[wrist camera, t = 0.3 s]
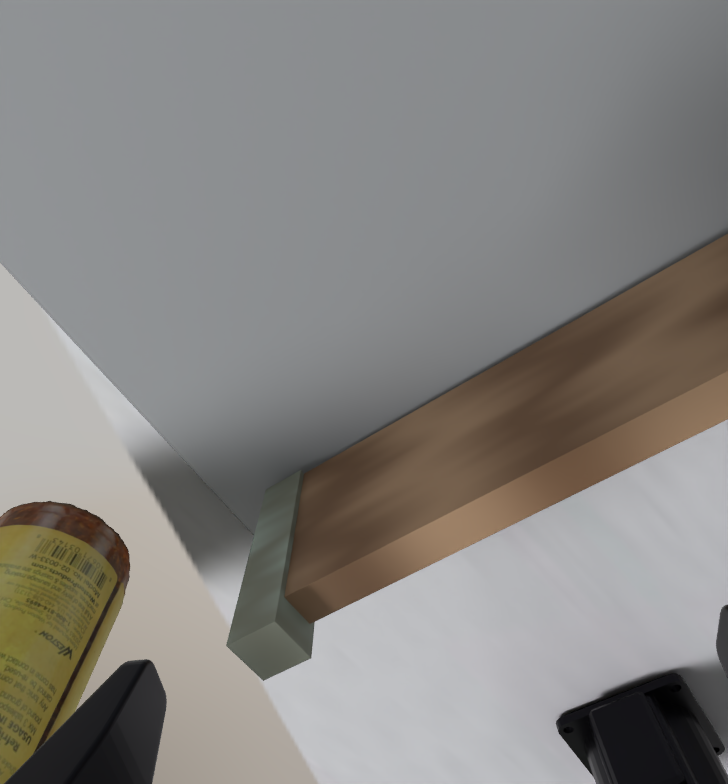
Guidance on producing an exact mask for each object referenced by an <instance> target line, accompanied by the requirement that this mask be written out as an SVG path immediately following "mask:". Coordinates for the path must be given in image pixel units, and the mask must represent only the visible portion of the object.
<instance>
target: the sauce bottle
mask: <svg viewBox="0 0 728 784" xmlns="http://www.w3.org/2000/svg"><path fill="white" fill-rule="evenodd" d="M129 571H130V562H129V553H128V549H127V547H126V545H125V544H124V542H123V540H122V539H121V538H120V536H119V534H118V533H116V532H115V531H114V529H112V528H111V527H109V526H108V525H107V524H106V523H105V522H104V521H103V520H102V519H101V518H100V517H98V516H96V515H93V514H91V513H90V512H88V511H87V510H82V509H80V508H77V507H75V506H74V505H71V504H65V503H56V502H51V501H48V502H33V503H28V504H23V505H19V506H17V507H13V508H12V509H10V510H8V511H7V512H6V513H4V514H3V515H2V516H1V517H0V784H4V783H5V782H6V781H7V780H8V779H9V778H10V777H11V776H12V775H13V774H14V773H15V772H16V771H17V770H18V769H19V768H20V767H21V766H22V765H23V764H24V763H25V762H26V761H27V760H28V759H29V758H30V757H31V756H32V755H33V754H34V753H35V752H36V751H37V750H38V749H39V748H40V747H41V746H42V745H43V744H44V743H45V742H46V741H47V740H48V739H49V738H50V737H51V736H52V735H53V733H54V732H55V731H56V730H57V729H58V728H59V727H60V726H61V725H62V724H63V723H64V722H65V721H66V720H67V719H68V718H69V717H70V716H71V715H72V714H73V713H74V712H75V710H76V708H77V705H78V703H79V701H80V699H81V697H82V694H83V692H84V690H85V688H86V685H87V683H88V681H89V678H90V676H91V674H92V672H93V670H94V667H95V665H96V663H97V661H98V658H99V656H100V654H101V651H102V649H103V647H104V644H105V642H106V640H107V638H108V636H109V633H110V631H111V629H112V626H113V624H114V622H115V620H116V618H117V616H118V613H119V611H120V609H121V606H122V603H123V598H124V595H125V589H126V586H127V583H128V581H129Z"/></svg>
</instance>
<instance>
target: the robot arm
mask: <svg viewBox="0 0 728 784" xmlns="http://www.w3.org/2000/svg"><path fill="white" fill-rule="evenodd" d="M716 649H717V654H718V657H719V660H720V662H721V664H722V667H723V669H724V671H725V673H726V675H727V678H728V605H725V606H723V608H722V609H721V612H720V619H719V626H718V633H717V640H716ZM165 711H166V694H165V690H164V688H163V686H162V683H161V681H160V678H159V676H158V673H157V671H156V668H155V666H154V664H153V663H152V662H151V661H150V660H147V659H146V660H135V661H128V662H125V663H124V664H122V665H121V666H120V667H119V668H118V669H117V670H116V671H115V672H114V673H113V674H112V675H111V676H110V677H109V678H108V679H107V680H106V681H105V682H104V683H103V684H102V685H101V686H100V687H99V688H98V689H97V690H96V691H95V692H94V693H93V694H92V695H91V696H90V697H89V698H88V699H87V700H86V701H85V702H84V703H83V704H82V705H81V706H80V707H79V708H78V709H77V710H76V711H75V712H74V713H73V714H72V715H71V716H70V717H69V718H68V719H67V720H66V721H65V722H64V723H63V724H62V725H61V726H60V727H59V728H58V729H57V730H56V731H55V732H54V733H53V735H52V736H51V737H50V738H49V739H48V740H47V741H46V742H45V743H44V744H43V745H42V746H41V747H40V748H39V749H38V750H37V751H36V752H35V753H34V754H33V755H32V756H31V757H30V758H29V759H28V760H27V761H26V762H25V763H24V764H23V765H22V766H21V767H20V768H19V769H18V770H17V771H16V772H15V773H14V774H13V775H12V776H11V777H10V778H9V779H8V780H7V781H6V782H5V783H4V784H152V782H153V776H154V771H155V765H156V760H157V755H158V749H159V744H160V738H161V733H162V728H163V722H164V717H165ZM556 725H557V729H558V732H559V734H560V735H561V736H562V738H563V739H564V740H565V742H566V743H567V744H568V745H569V747H570V748H571V749H572V750H573V752H574V753H575V754H576V755H577V757H578V758H579V759H580V760H581V762H582V763H583V764H584V766H585V767H586V768H587V769H588V771H589V772H590V773H591V774H592V776H593V777H594V779H595V782H596V784H728V775H727V773H726V771H725V769H724V767H723V765H722V763H721V762H720V760H719V758H718V755H720V754H722V753H723V752H724V750H725V748H724V745H723V744H722V742H721V740H720V738H719V737H718V735H717V733H716V732H715V730H714V729H713V727H712V725H711V724H710V722H709V720H708V719H707V717H706V715H705V714H704V712H703V711H702V709H701V707H700V706H699V704H698V702H697V701H696V699H695V697H694V696H693V694H692V693H691V691H690V689H689V688H688V686H687V684H686V683H685V681H684V680H683V678H682V677H681V676H680V675H678V674H670V675H667V676H664V677H662V678H659V679H657V680H654V681H652V682H649V683H647V684H644V685H641V686H639V687H636V688H634V689H631V690H629V691H626V692H624V693H621V694H619V695H616V696H614V697H611V698H608V699H606V700H603V701H601V702H598V703H596V704H593V705H591V706H588V707H586V708H583V709H581V710H578V711H575V712H573V713H570V714H568V715H565V716H563V717H561V718H559V719H558V720H557V721H556Z"/></svg>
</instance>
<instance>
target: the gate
mask: <svg viewBox="0 0 728 784" xmlns="http://www.w3.org/2000/svg"><path fill="white" fill-rule="evenodd" d="M727 419H728V234H726V235H725V236H723V237H721V238H719V239H718V240H716V241H714V242H712V243H710V244H709V245H707V246H705V247H703V248H702V249H700V250H698V251H696V252H695V253H693V254H691V255H689V256H687V257H686V258H684V259H682V260H680V261H679V262H677V263H675V264H673V265H672V266H670V267H668V268H666V269H665V270H663V271H661V272H659V273H657V274H656V275H654V276H652V277H650V278H649V279H647V280H645V281H643V282H642V283H640V284H638V285H636V286H635V287H633V288H631V289H629V290H627V291H626V292H624V293H622V294H620V295H619V296H617V297H615V298H613V299H612V300H610V301H608V302H606V303H604V304H603V305H601V306H599V307H597V308H596V309H594V310H592V311H590V312H589V313H587V314H585V315H583V316H582V317H580V318H578V319H576V320H574V321H573V322H571V323H569V324H567V325H566V326H564V327H562V328H560V329H559V330H557V331H555V332H553V333H552V334H550V335H548V336H546V337H544V338H543V339H541V340H539V341H537V342H536V343H534V344H532V345H530V346H529V347H527V348H525V349H523V350H521V351H520V352H518V353H516V354H514V355H513V356H511V357H509V358H507V359H506V360H504V361H502V362H500V363H499V364H497V365H495V366H493V367H491V368H490V369H488V370H486V371H484V372H483V373H481V374H479V375H477V376H476V377H474V378H472V379H470V380H469V381H467V382H465V383H463V384H461V385H460V386H458V387H456V388H454V389H453V390H451V391H449V392H447V393H446V394H444V395H442V396H440V397H438V398H437V399H435V400H433V401H431V402H430V403H428V404H426V405H424V406H423V407H421V408H419V409H417V410H416V411H414V412H412V413H410V414H408V415H407V416H405V417H403V418H401V419H400V420H398V421H396V422H394V423H393V424H391V425H389V426H387V427H386V428H384V429H382V430H380V431H378V432H377V433H375V434H373V435H371V436H370V437H368V438H366V439H364V440H363V441H361V442H359V443H357V444H355V445H354V446H352V447H350V448H348V449H347V450H345V451H343V452H341V453H340V454H338V455H336V456H334V457H333V458H331V459H329V460H327V461H325V462H324V463H322V464H320V465H318V466H317V467H315V468H313V469H311V470H310V471H308V472H306V473H303V472H302V470H300V471H298V472H296V473H294V474H292V475H291V476H289V477H287V478H285V479H284V480H282V481H280V482H278V483H277V484H275V485H273V486H271V487H270V488H268V489H266V491H265V495H264V499H263V502H262V506H261V510H260V514H259V518H258V522H257V526H256V530H255V534H254V538H253V542H252V546H251V550H250V554H249V558H248V562H247V566H246V570H245V574H244V578H243V582H242V585H241V589H240V593H239V597H238V601H237V605H236V609H235V613H234V617H233V621H232V625H231V629H230V633H229V638H228V641H227V647H228V648H229V649H230V650H231V651H232V652H233V653H235V654H236V655H237V656H238V657H239V658H240V659H241V660H242V661H243V662H244V663H245V664H246V665H247V666H248V667H249V668H250V669H251V670H253V671H254V672H255V673H256V674H257V675H258V676H259V677H260V678H261V679H262V680H263V681H264V680H266V679H268V678H270V677H272V676H274V675H276V674H278V673H281V672H283V671H285V670H287V669H289V668H291V667H293V666H295V665H298V664H300V663H302V662H304V661H306V660H308V659H310V658H311V654H312V644H313V633H314V622H315V621H317V620H319V619H321V618H323V617H325V616H327V615H329V614H331V613H333V612H335V611H337V610H339V609H341V608H343V607H345V606H347V605H349V604H351V603H353V602H356V601H358V600H360V599H362V598H364V597H366V596H368V595H370V594H372V593H374V592H376V591H378V590H380V589H382V588H384V587H386V586H388V585H390V584H392V583H394V582H396V581H398V580H400V579H402V578H405V577H407V576H409V575H411V574H413V573H415V572H417V571H419V570H421V569H423V568H425V567H427V566H429V565H431V564H433V563H435V562H437V561H439V560H441V559H443V558H445V557H447V556H449V555H451V554H454V553H456V552H458V551H460V550H462V549H464V548H466V547H468V546H470V545H472V544H474V543H476V542H478V541H480V540H482V539H484V538H486V537H488V536H490V535H492V534H494V533H496V532H498V531H500V530H502V529H505V528H507V527H509V526H511V525H513V524H515V523H517V522H519V521H521V520H523V519H525V518H527V517H529V516H531V515H533V514H535V513H537V512H539V511H541V510H543V509H545V508H547V507H549V506H551V505H554V504H556V503H558V502H560V501H562V500H564V499H566V498H568V497H570V496H572V495H574V494H576V493H578V492H580V491H582V490H584V489H586V488H588V487H590V486H592V485H594V484H596V483H598V482H600V481H603V480H605V479H607V478H609V477H611V476H613V475H615V474H617V473H619V472H621V471H623V470H625V469H627V468H629V467H631V466H633V465H635V464H637V463H639V462H641V461H643V460H645V459H647V458H649V457H651V456H654V455H656V454H658V453H660V452H662V451H664V450H666V449H668V448H670V447H672V446H674V445H676V444H678V443H680V442H682V441H684V440H686V439H688V438H690V437H692V436H694V435H696V434H698V433H700V432H703V431H705V430H707V429H709V428H711V427H713V426H715V425H717V424H719V423H721V422H723V421H725V420H727Z"/></svg>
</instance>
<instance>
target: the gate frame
mask: <svg viewBox="0 0 728 784" xmlns="http://www.w3.org/2000/svg"><path fill="white" fill-rule="evenodd" d="M726 234H728V0H0V263H1V264H2V265H3V266H4V267H5V268H6V269H7V270H8V272H9V273H10V274H11V275H12V276H13V277H14V278H15V279H16V280H17V281H18V282H19V283H20V284H21V286H22V287H23V288H24V289H25V290H26V291H27V292H28V293H29V294H30V295H31V296H32V297H33V298H34V300H35V301H36V302H37V303H38V304H39V305H40V306H41V307H42V308H43V309H44V310H45V311H46V312H47V314H48V315H49V316H50V317H51V318H52V319H53V320H54V321H55V322H56V323H57V324H58V325H59V326H60V327H61V329H62V330H63V331H64V332H65V333H66V334H67V335H68V336H69V337H70V338H71V339H72V340H73V341H74V343H75V344H76V345H77V346H78V347H79V348H80V349H81V350H82V351H83V352H84V353H85V354H86V355H87V357H88V358H89V359H90V360H91V361H92V362H93V363H94V364H95V365H96V366H97V367H98V368H99V369H100V370H101V372H102V373H103V374H104V375H105V376H106V377H107V378H108V379H109V380H110V381H111V382H112V383H113V384H114V386H115V387H116V388H117V389H118V390H119V391H120V392H121V393H122V394H123V395H124V396H125V397H126V398H127V400H128V401H129V402H130V403H131V404H132V405H133V406H134V407H135V408H136V409H137V410H138V411H139V412H140V414H141V415H142V416H143V417H144V418H145V419H146V420H147V421H148V422H149V423H150V424H151V425H152V426H153V427H154V429H155V430H156V431H157V432H158V433H159V434H160V435H161V436H162V437H163V438H164V439H165V440H166V441H167V443H168V444H169V445H170V446H171V447H172V448H173V449H174V450H175V451H176V452H177V453H178V454H179V455H180V457H181V458H182V459H183V460H184V461H185V462H186V463H187V464H188V465H189V466H190V467H191V468H192V469H193V470H194V472H195V473H196V474H197V475H198V476H199V477H200V478H201V479H202V480H203V481H204V482H205V483H206V484H207V486H208V487H209V488H210V489H211V490H212V491H213V492H214V493H215V494H216V495H217V496H218V497H219V498H220V500H221V501H222V502H223V503H224V504H225V505H226V506H227V507H228V508H229V509H230V510H231V511H232V512H233V513H234V515H235V516H236V517H237V518H238V519H239V520H240V521H241V522H242V523H243V524H244V525H245V526H246V527H247V529H248V530H249V531H250V532H251V533H252V534H253V535H254V534H255V530H256V526H257V522H258V518H259V514H260V510H261V506H262V502H263V499H264V495H265V491H266V489H268V488H270V487H271V486H273V485H275V484H277V483H278V482H280V481H282V480H284V479H285V478H287V477H289V476H291V475H292V474H294V473H296V472H298V471H300V470H302V472H303V473H306V472H308V471H310V470H311V469H313V468H315V467H317V466H318V465H320V464H322V463H324V462H325V461H327V460H329V459H331V458H333V457H334V456H336V455H338V454H340V453H341V452H343V451H345V450H347V449H348V448H350V447H352V446H354V445H355V444H357V443H359V442H361V441H363V440H364V439H366V438H368V437H370V436H371V435H373V434H375V433H377V432H378V431H380V430H382V429H384V428H386V427H387V426H389V425H391V424H393V423H394V422H396V421H398V420H400V419H401V418H403V417H405V416H407V415H408V414H410V413H412V412H414V411H416V410H417V409H419V408H421V407H423V406H424V405H426V404H428V403H430V402H431V401H433V400H435V399H437V398H438V397H440V396H442V395H444V394H446V393H447V392H449V391H451V390H453V389H454V388H456V387H458V386H460V385H461V384H463V383H465V382H467V381H469V380H470V379H472V378H474V377H476V376H477V375H479V374H481V373H483V372H484V371H486V370H488V369H490V368H491V367H493V366H495V365H497V364H499V363H500V362H502V361H504V360H506V359H507V358H509V357H511V356H513V355H514V354H516V353H518V352H520V351H521V350H523V349H525V348H527V347H529V346H530V345H532V344H534V343H536V342H537V341H539V340H541V339H543V338H544V337H546V336H548V335H550V334H552V333H553V332H555V331H557V330H559V329H560V328H562V327H564V326H566V325H567V324H569V323H571V322H573V321H574V320H576V319H578V318H580V317H582V316H583V315H585V314H587V313H589V312H590V311H592V310H594V309H596V308H597V307H599V306H601V305H603V304H604V303H606V302H608V301H610V300H612V299H613V298H615V297H617V296H619V295H620V294H622V293H624V292H626V291H627V290H629V289H631V288H633V287H635V286H636V285H638V284H640V283H642V282H643V281H645V280H647V279H649V278H650V277H652V276H654V275H656V274H657V273H659V272H661V271H663V270H665V269H666V268H668V267H670V266H672V265H673V264H675V263H677V262H679V261H680V260H682V259H684V258H686V257H687V256H689V255H691V254H693V253H695V252H696V251H698V250H700V249H702V248H703V247H705V246H707V245H709V244H710V243H712V242H714V241H716V240H718V239H719V238H721V237H723V236H725V235H726Z"/></svg>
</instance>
